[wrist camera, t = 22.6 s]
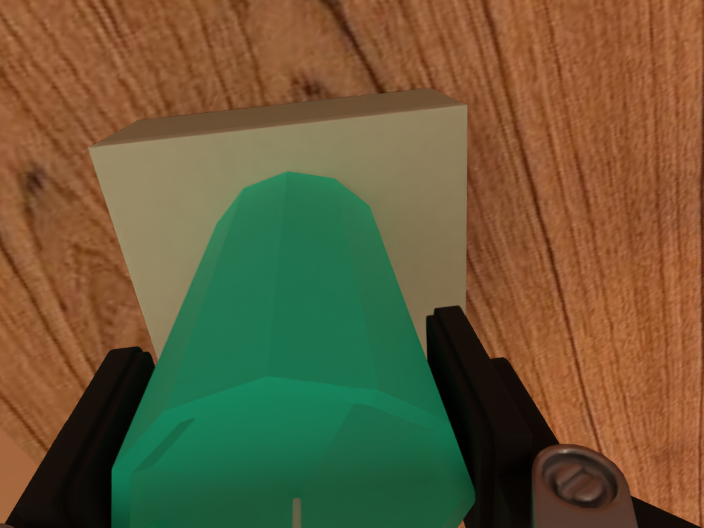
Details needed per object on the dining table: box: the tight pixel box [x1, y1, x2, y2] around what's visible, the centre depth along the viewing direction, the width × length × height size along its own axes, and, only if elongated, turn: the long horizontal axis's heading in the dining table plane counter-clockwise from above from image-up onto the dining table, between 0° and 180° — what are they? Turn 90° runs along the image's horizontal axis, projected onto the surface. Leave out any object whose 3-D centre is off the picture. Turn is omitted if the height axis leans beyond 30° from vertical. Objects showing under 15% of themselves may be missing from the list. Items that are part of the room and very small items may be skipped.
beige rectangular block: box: [88, 88, 468, 360], centre depth 22 cm, size 12×18×5 cm, turn 5°
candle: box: [111, 171, 475, 528], centre depth 12 cm, size 6×6×12 cm
